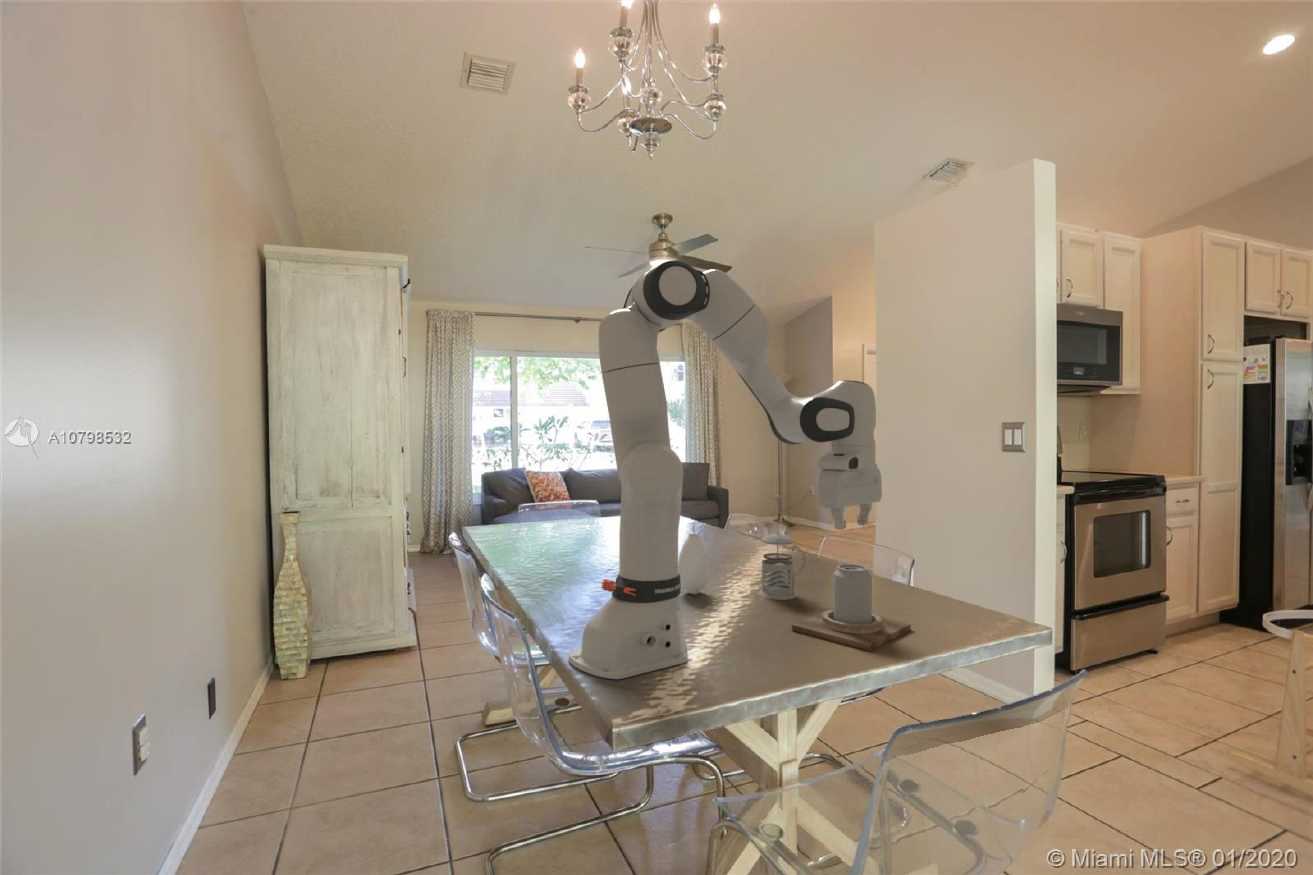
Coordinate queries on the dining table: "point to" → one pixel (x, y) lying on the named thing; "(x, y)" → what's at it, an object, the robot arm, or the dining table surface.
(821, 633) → the seat board
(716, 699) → the dining table surface
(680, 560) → the sauce bottle
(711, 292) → the robot arm
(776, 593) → the french press
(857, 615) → the can
